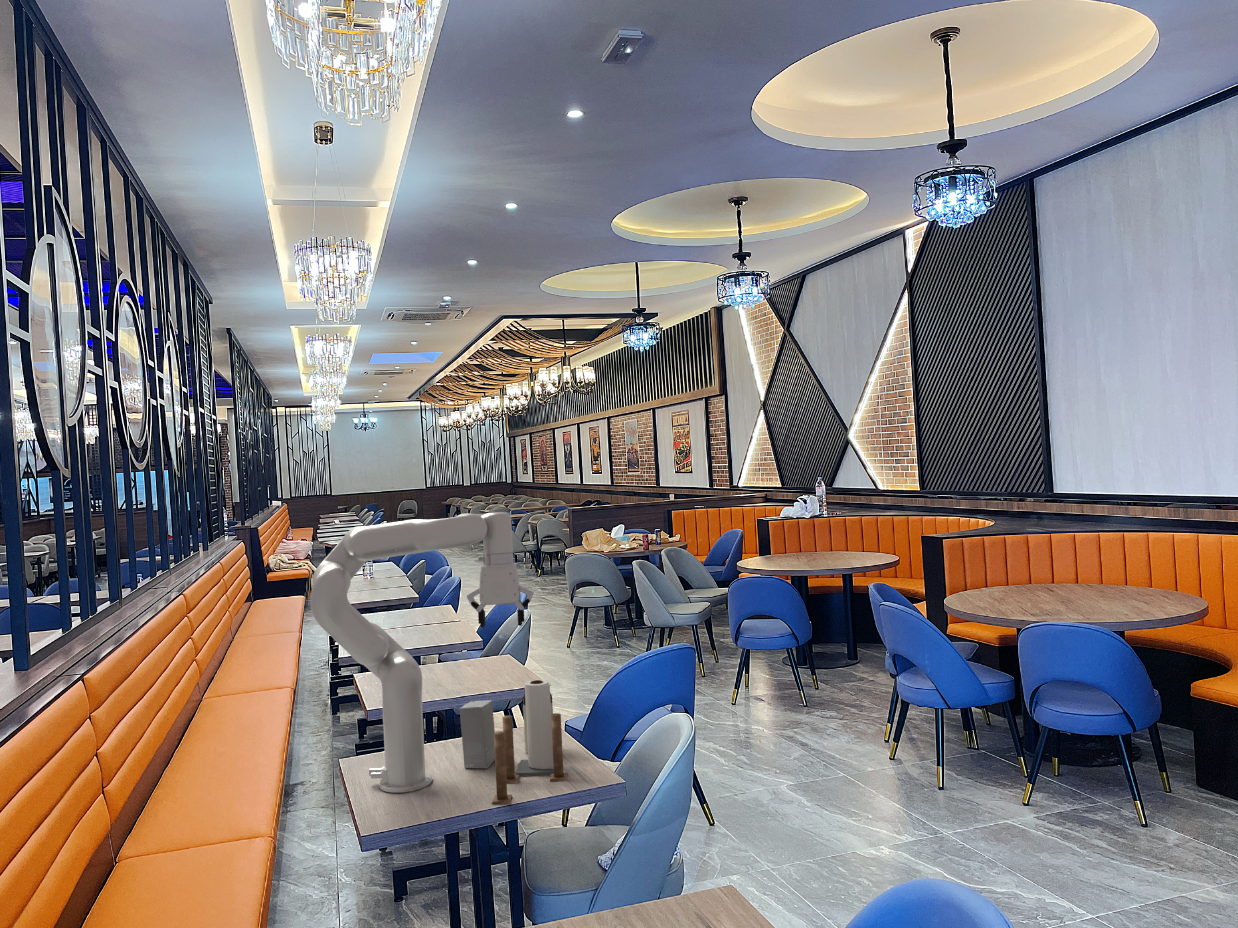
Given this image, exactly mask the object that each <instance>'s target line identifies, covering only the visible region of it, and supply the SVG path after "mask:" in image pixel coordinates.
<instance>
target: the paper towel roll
mask: <svg viewBox="0 0 1238 928" xmlns="http://www.w3.org/2000/svg"><path fill="white" fill-rule="evenodd" d="M549 683H550V682H549V680H545V679H533V680H528V681H526V682H525V683H524V685H525V690H524V694H525V699H526V720H527V741H528V753H527V756H528V759H527V760H528V762H529V767H530V768H534V769H554V767H553V746H552V725H551V698H550V693H551V686H550V685H549Z"/></svg>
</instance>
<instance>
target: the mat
mask: <svg viewBox="0 0 1238 928" xmlns="http://www.w3.org/2000/svg"><path fill="white" fill-rule="evenodd" d="M551 773H554V769H534V768H530V767H529V762H528V759H520V762H519V764H518V766H517V769H516V770H515V775H519V776H520V777H533V776H535V777H536V776H551Z"/></svg>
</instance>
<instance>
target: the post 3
mask: <svg viewBox="0 0 1238 928" xmlns="http://www.w3.org/2000/svg"><path fill="white" fill-rule="evenodd" d="M551 725H552V746H553V767H554V773H551V775H550V778H549V782H562V781H561V780H566V779H567V780H568V776H567V775H568V774H569V773H568V772H564V756H563V754H564V753H563V739H562V738H563V737H562V735H563V734H562V731H563V730H562V714H561V713H559V712H558V713H553V714H552V715H551ZM567 780H566V781H567Z"/></svg>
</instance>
